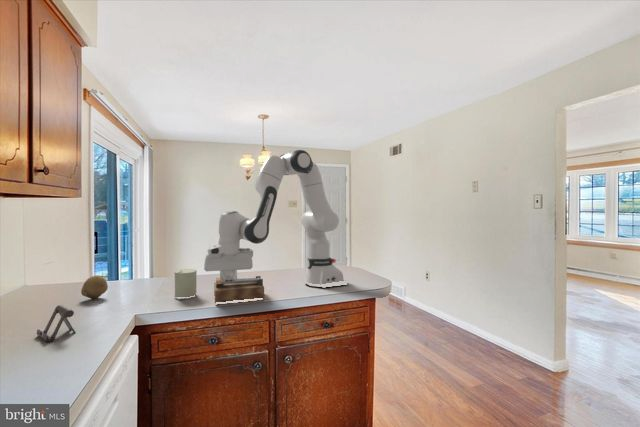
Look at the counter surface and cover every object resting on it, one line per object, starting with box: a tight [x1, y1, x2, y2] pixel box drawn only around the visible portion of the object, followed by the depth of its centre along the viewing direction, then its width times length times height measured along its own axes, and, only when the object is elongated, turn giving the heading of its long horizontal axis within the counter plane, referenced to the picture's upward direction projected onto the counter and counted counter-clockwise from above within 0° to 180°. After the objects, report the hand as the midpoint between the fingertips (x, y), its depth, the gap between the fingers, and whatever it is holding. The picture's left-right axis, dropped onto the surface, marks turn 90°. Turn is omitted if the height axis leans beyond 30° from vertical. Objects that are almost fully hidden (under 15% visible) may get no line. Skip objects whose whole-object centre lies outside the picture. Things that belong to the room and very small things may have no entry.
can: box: [174, 268, 198, 297], centre depth 139 cm, size 9×9×12 cm
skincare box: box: [219, 270, 238, 280], centre depth 154 cm, size 8×7×16 cm
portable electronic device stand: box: [36, 304, 76, 344], centre depth 97 cm, size 9×8×8 cm
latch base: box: [213, 275, 265, 304], centre depth 137 cm, size 20×14×8 cm
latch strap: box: [215, 277, 260, 284], centre depth 137 cm, size 19×4×2 cm, turn 110°
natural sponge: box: [80, 275, 109, 300], centre depth 134 cm, size 9×9×10 cm
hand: (228, 280), depth 135 cm, fingers closed, pressing on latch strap
